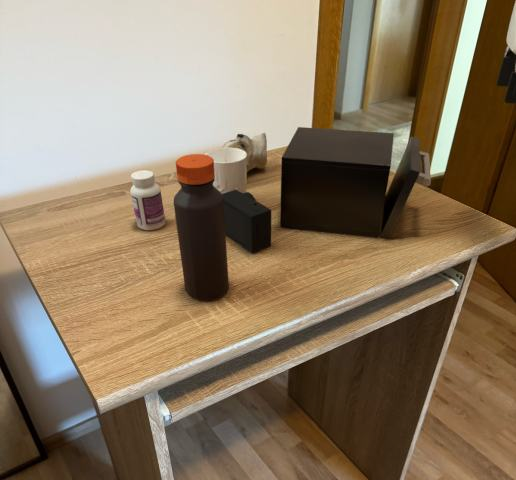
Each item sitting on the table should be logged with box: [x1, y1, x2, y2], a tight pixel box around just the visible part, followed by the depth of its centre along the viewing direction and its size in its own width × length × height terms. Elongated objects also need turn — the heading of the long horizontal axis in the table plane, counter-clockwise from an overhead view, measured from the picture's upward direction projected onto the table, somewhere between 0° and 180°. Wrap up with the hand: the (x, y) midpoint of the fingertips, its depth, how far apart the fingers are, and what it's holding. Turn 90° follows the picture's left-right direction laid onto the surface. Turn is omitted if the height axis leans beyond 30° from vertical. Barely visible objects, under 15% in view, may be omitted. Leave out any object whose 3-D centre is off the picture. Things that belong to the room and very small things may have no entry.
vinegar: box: [173, 153, 230, 302], centre depth 69 cm, size 7×7×20 cm
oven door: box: [380, 136, 432, 240], centre depth 88 cm, size 4×16×13 cm, turn 167°
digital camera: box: [222, 190, 272, 254], centre depth 85 cm, size 10×5×7 cm, turn 37°
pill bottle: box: [130, 169, 166, 231], centre depth 89 cm, size 5×5×10 cm
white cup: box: [204, 147, 248, 194], centre depth 94 cm, size 8×8×10 cm
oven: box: [279, 126, 395, 238], centre depth 90 cm, size 18×16×13 cm
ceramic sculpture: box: [221, 132, 268, 172], centre depth 107 cm, size 11×9×15 cm
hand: (510, 93), depth 75 cm, fingers open, 9 cm apart
